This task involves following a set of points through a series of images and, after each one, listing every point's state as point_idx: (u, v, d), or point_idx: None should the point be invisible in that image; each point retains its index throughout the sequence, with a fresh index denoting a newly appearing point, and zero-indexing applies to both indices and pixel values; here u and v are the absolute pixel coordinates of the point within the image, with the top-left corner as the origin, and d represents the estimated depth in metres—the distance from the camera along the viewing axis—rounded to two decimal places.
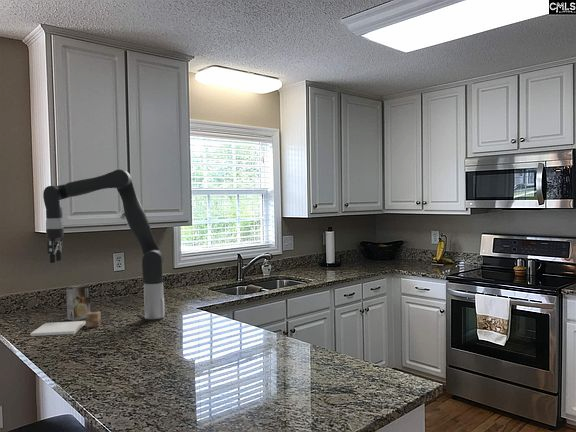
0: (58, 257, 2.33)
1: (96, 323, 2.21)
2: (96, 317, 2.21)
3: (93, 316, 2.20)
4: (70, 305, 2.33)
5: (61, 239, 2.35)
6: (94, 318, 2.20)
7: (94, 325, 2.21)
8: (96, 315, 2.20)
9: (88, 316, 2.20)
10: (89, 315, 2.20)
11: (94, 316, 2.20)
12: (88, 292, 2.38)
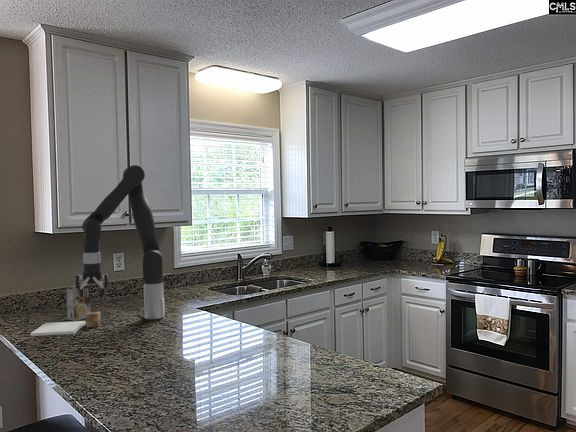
0: (83, 294, 2.22)
1: (96, 323, 2.21)
2: (96, 317, 2.21)
3: (93, 316, 2.20)
4: (70, 305, 2.33)
5: (80, 275, 2.23)
6: (94, 318, 2.20)
7: (94, 325, 2.21)
8: (96, 315, 2.20)
9: (88, 316, 2.20)
10: (89, 315, 2.20)
11: (94, 316, 2.20)
12: (88, 292, 2.38)
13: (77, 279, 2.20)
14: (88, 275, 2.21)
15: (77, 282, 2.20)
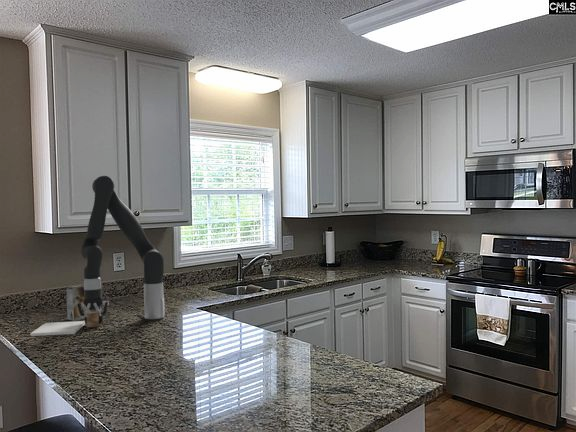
0: None
1: (96, 323, 2.21)
2: (96, 317, 2.21)
3: (93, 316, 2.20)
4: (70, 305, 2.33)
5: (80, 302, 2.23)
6: (94, 318, 2.20)
7: (94, 325, 2.21)
8: (96, 315, 2.21)
9: (88, 316, 2.20)
10: (89, 315, 2.20)
11: (94, 316, 2.20)
12: None
13: (79, 307, 2.21)
14: (89, 301, 2.21)
15: (80, 310, 2.21)
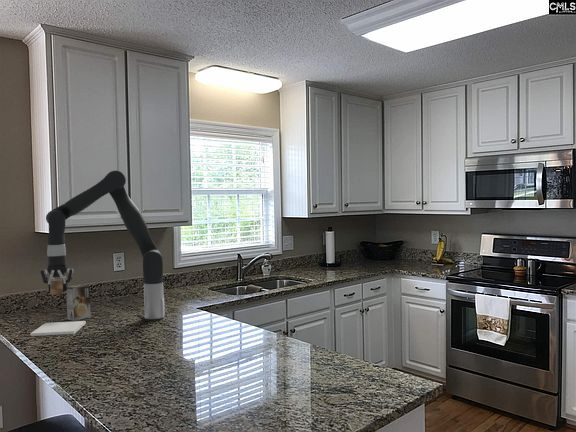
0: None
1: (60, 290, 2.14)
2: (60, 284, 2.14)
3: (57, 283, 2.14)
4: (70, 305, 2.33)
5: None
6: (58, 285, 2.14)
7: (58, 293, 2.14)
8: (60, 282, 2.14)
9: (52, 283, 2.14)
10: (53, 282, 2.14)
11: (58, 283, 2.14)
12: (88, 292, 2.38)
13: (43, 274, 2.14)
14: (53, 268, 2.15)
15: (44, 277, 2.14)
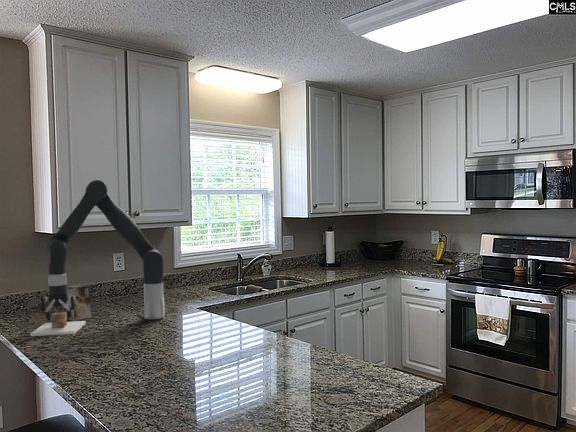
0: (49, 316, 2.16)
1: (61, 324, 2.15)
2: (61, 318, 2.15)
3: (58, 317, 2.14)
4: (70, 305, 2.33)
5: (45, 297, 2.17)
6: (59, 319, 2.15)
7: (59, 326, 2.15)
8: (61, 316, 2.15)
9: (53, 317, 2.14)
10: (54, 316, 2.14)
11: (59, 317, 2.15)
12: (88, 292, 2.38)
13: (42, 302, 2.15)
14: (54, 297, 2.15)
15: (42, 305, 2.15)
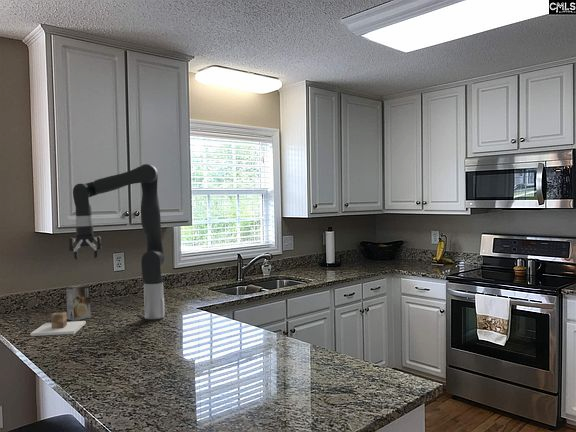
0: (77, 256, 2.30)
1: (61, 324, 2.15)
2: (61, 318, 2.15)
3: (58, 317, 2.14)
4: (70, 305, 2.33)
5: (73, 238, 2.31)
6: (59, 319, 2.15)
7: (59, 326, 2.15)
8: (61, 316, 2.15)
9: (53, 317, 2.14)
10: (54, 316, 2.14)
11: (59, 317, 2.15)
12: (88, 292, 2.38)
13: (70, 242, 2.28)
14: (81, 238, 2.29)
15: (71, 245, 2.28)
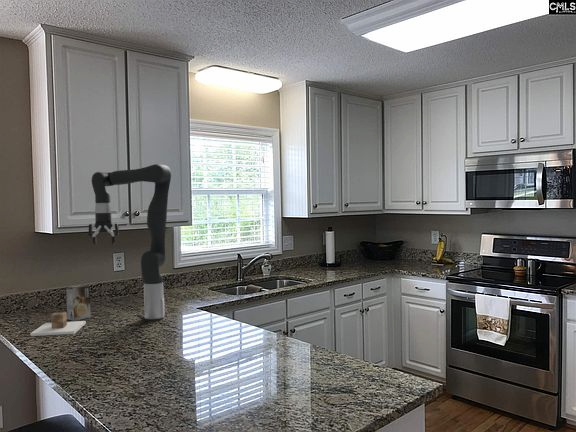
0: (96, 241, 2.41)
1: (61, 324, 2.15)
2: (61, 318, 2.15)
3: (58, 317, 2.14)
4: (70, 305, 2.33)
5: (92, 224, 2.42)
6: (59, 319, 2.15)
7: (59, 326, 2.15)
8: (61, 316, 2.15)
9: (53, 317, 2.14)
10: (54, 316, 2.14)
11: (59, 317, 2.15)
12: (88, 292, 2.38)
13: (90, 228, 2.39)
14: (100, 224, 2.40)
15: (90, 230, 2.39)
